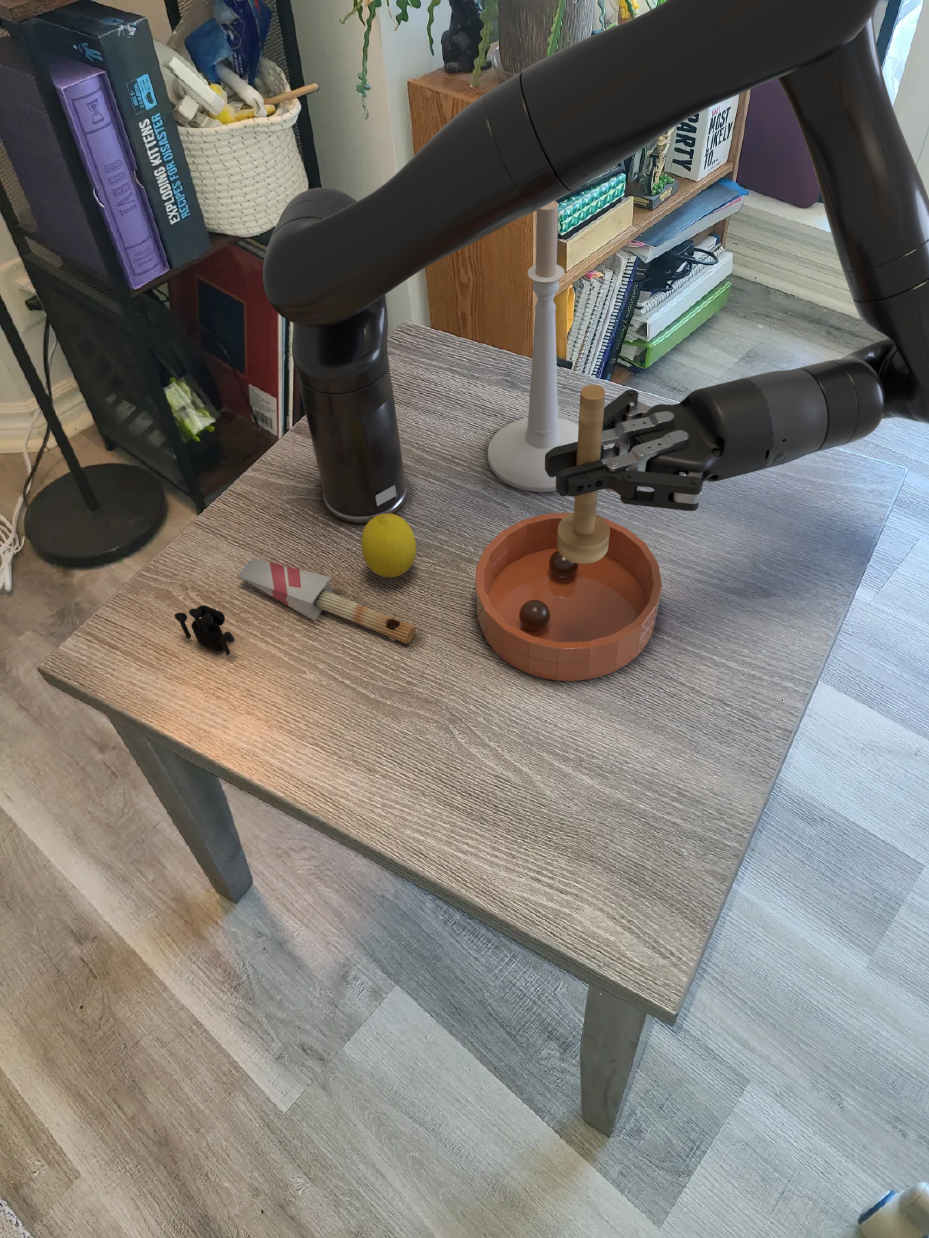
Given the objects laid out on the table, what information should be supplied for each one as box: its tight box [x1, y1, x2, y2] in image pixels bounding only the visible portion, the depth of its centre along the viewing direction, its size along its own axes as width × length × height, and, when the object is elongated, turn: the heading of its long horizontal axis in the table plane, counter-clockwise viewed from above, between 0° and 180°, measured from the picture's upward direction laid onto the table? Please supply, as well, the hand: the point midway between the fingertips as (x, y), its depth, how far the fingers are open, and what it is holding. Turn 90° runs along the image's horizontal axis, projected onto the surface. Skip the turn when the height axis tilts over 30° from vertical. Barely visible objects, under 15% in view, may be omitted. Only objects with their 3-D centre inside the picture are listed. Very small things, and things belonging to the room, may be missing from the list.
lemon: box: [360, 513, 417, 578], centre depth 91 cm, size 6×6×8 cm
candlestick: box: [487, 200, 579, 493], centre depth 93 cm, size 13×13×30 cm
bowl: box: [475, 512, 663, 682], centre depth 88 cm, size 18×18×5 cm
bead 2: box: [549, 551, 578, 579], centre depth 91 cm, size 3×3×3 cm
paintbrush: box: [236, 557, 416, 645], centre depth 90 cm, size 4×3×20 cm
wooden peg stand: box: [557, 384, 610, 564], centre depth 71 cm, size 4×4×16 cm
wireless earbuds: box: [174, 605, 235, 656], centre depth 87 cm, size 7×2×5 cm, turn 63°
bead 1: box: [519, 600, 550, 631], centre depth 87 cm, size 3×3×3 cm
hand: (552, 474), depth 70 cm, fingers closed on wooden peg stand, 2 cm apart
